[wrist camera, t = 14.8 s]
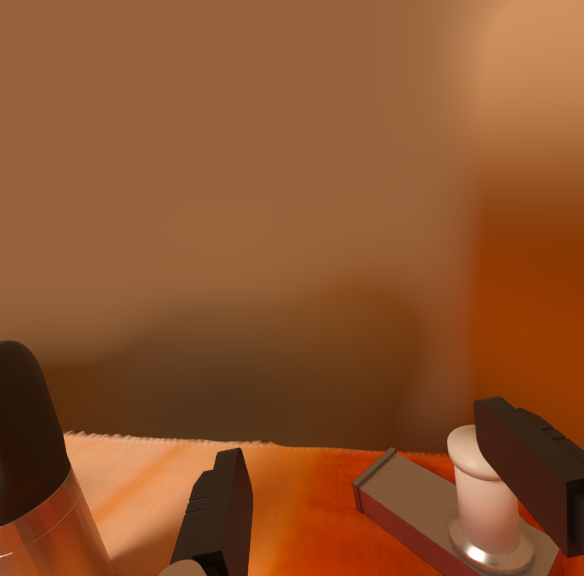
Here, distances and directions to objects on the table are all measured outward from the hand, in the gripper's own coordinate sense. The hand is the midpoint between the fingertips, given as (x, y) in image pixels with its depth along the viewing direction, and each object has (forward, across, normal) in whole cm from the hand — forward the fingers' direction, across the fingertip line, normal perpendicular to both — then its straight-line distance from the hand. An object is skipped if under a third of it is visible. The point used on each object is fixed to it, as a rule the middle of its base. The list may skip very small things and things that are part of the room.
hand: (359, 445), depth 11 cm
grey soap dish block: (+21, -11, +32) cm, 40 cm away
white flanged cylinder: (+17, -13, +27) cm, 35 cm away
